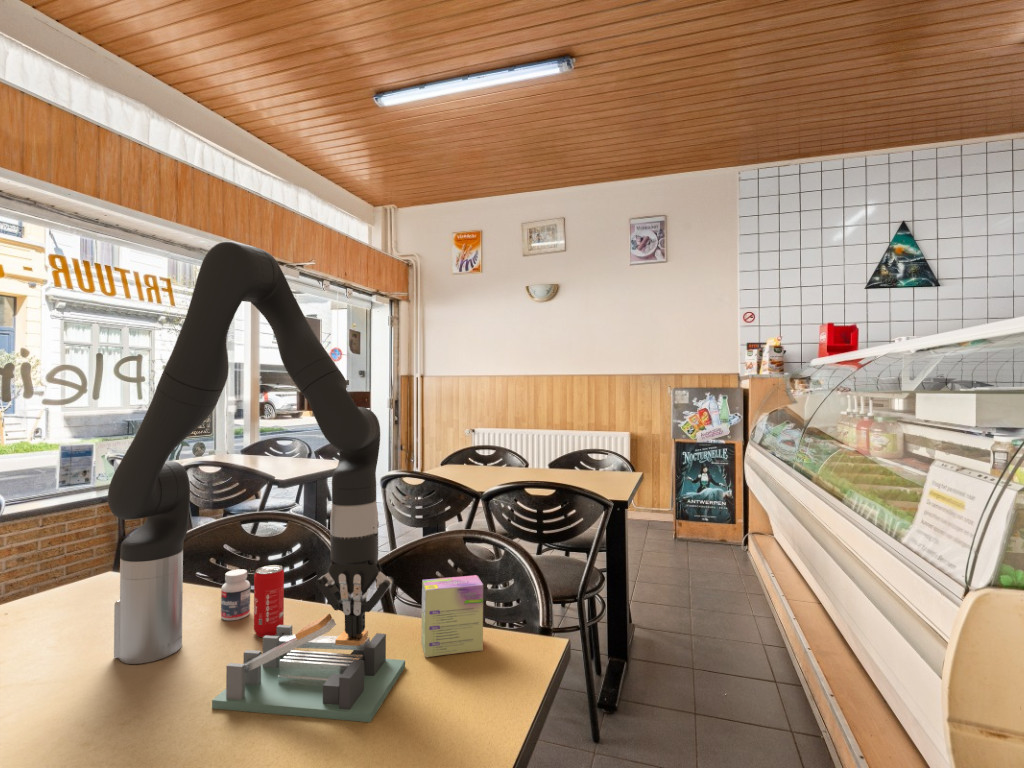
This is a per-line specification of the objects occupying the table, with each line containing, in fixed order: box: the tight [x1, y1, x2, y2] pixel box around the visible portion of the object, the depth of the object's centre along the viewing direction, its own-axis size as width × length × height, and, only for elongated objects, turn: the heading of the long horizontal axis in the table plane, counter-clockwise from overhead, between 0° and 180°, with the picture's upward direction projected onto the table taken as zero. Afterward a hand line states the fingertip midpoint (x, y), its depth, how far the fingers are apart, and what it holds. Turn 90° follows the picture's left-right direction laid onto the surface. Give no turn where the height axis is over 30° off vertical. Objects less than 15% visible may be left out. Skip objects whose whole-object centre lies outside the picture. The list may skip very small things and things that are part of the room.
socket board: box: [211, 624, 406, 723], centre depth 84 cm, size 24×15×6 cm, turn 83°
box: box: [420, 574, 484, 658], centre depth 97 cm, size 10×6×12 cm, turn 106°
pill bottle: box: [220, 568, 251, 622], centre depth 110 cm, size 5×5×9 cm
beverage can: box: [253, 564, 285, 638], centre depth 103 cm, size 5×5×12 cm
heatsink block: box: [278, 649, 363, 687], centre depth 84 cm, size 12×4×3 cm, turn 83°
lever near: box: [244, 613, 337, 673], centre depth 80 cm, size 16×4×2 cm, turn 83°
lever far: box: [278, 630, 371, 651], centre depth 89 cm, size 16×4×2 cm, turn 83°
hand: (355, 635), depth 88 cm, fingers closed
